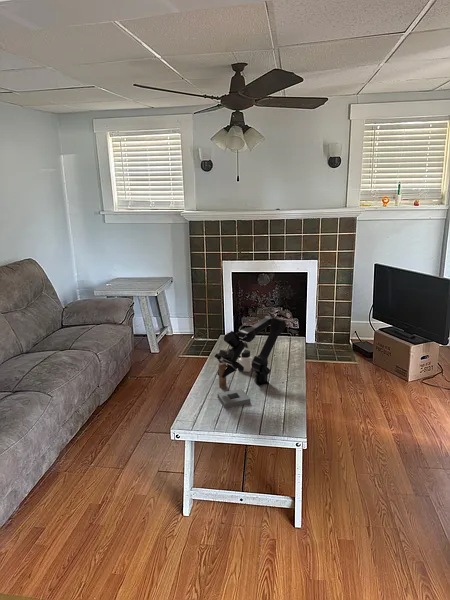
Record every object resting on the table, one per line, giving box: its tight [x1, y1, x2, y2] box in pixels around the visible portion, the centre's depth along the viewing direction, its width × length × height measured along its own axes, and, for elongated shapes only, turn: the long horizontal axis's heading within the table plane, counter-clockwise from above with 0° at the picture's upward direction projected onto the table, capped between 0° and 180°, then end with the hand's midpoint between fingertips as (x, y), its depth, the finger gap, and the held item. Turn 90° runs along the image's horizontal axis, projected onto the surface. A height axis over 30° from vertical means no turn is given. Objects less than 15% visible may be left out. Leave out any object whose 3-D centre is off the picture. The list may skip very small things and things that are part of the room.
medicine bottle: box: [237, 349, 253, 373], centre depth 257 cm, size 7×7×12 cm
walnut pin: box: [218, 362, 227, 389], centre depth 221 cm, size 4×4×13 cm
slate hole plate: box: [216, 388, 251, 409], centre depth 221 cm, size 14×12×2 cm
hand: (220, 376), depth 220 cm, fingers closed on walnut pin, 4 cm apart
